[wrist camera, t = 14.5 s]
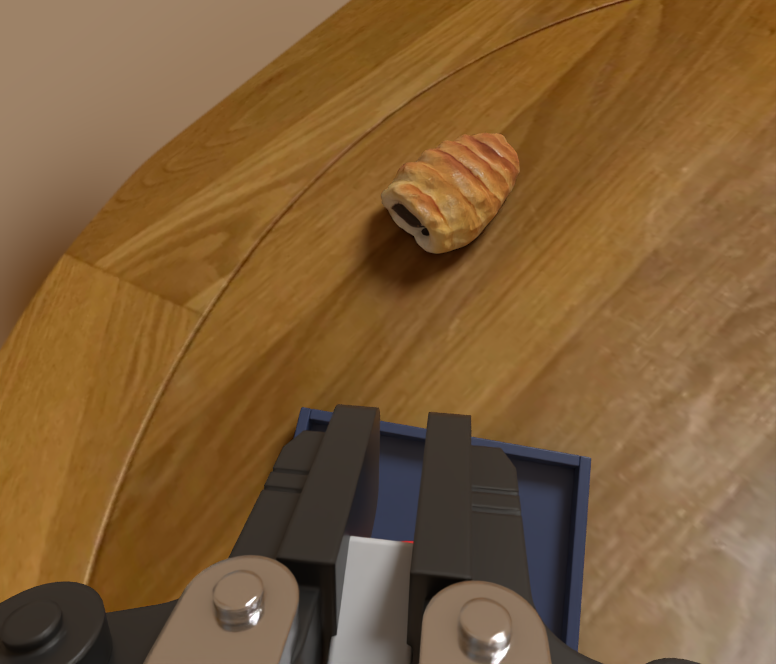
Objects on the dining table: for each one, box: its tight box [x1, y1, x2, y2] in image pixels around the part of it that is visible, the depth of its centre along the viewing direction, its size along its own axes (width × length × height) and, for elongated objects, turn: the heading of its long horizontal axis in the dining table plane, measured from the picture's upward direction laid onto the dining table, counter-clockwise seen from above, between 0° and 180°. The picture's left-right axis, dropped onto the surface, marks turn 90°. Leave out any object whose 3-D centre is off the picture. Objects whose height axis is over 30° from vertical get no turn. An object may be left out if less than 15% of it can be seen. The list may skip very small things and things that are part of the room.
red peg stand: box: [327, 536, 414, 664], centre depth 14 cm, size 5×5×15 cm
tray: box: [294, 407, 591, 652], centre depth 31 cm, size 16×14×2 cm
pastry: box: [381, 133, 519, 254], centre depth 38 cm, size 9×7×4 cm
